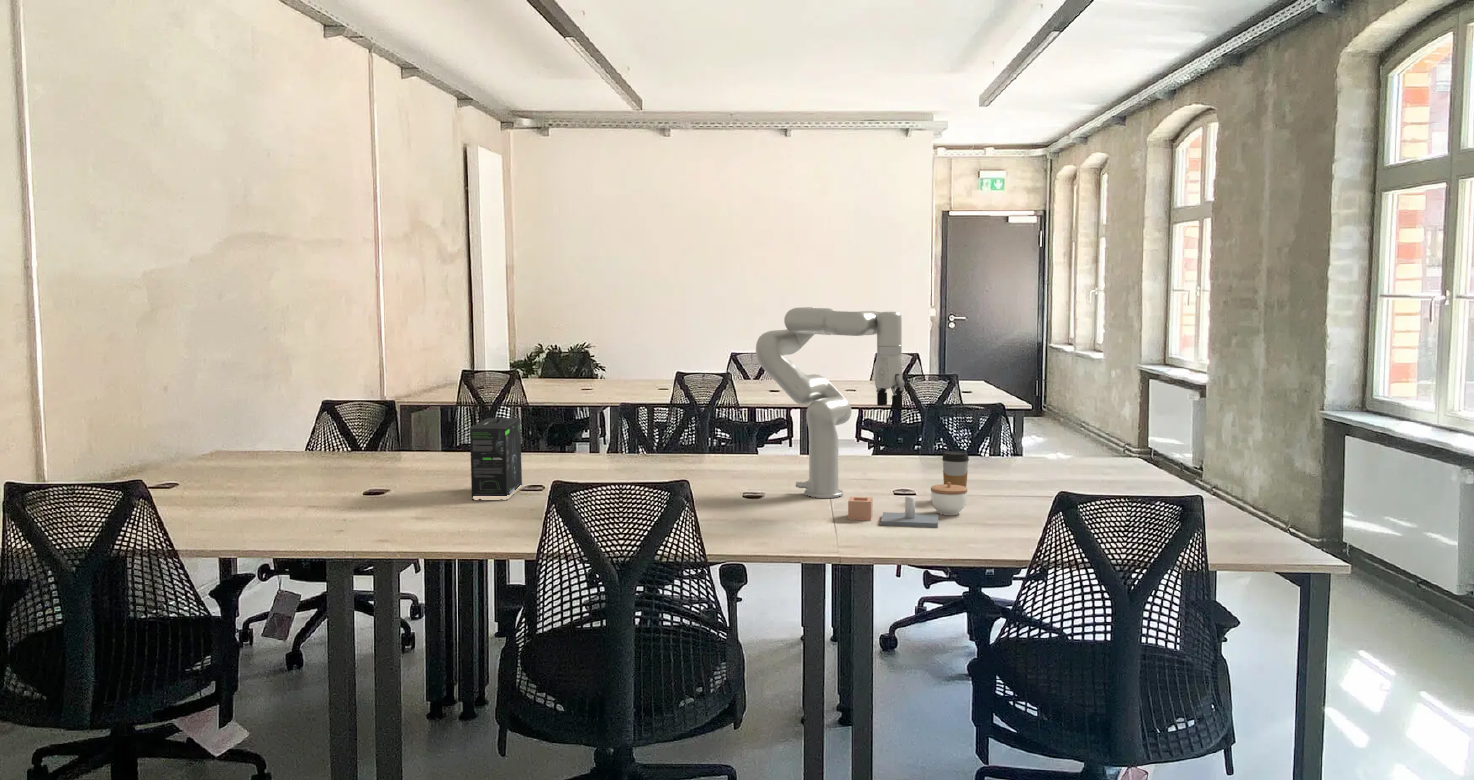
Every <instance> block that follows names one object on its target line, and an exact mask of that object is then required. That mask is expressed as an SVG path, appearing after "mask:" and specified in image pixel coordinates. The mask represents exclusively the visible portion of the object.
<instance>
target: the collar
mask: <svg viewBox="0 0 1474 780" xmlns="http://www.w3.org/2000/svg"><path fill="white" fill-rule="evenodd" d="M873 498H874V497H873V496H871V497H870V496H850V497H849V499H848V502H847V505H848V506H847V517H848V518H847V519H857V520H856V521H872V519H871V518H873V505H874V504H873V501H874V500H873Z"/></svg>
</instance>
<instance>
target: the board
mask: <svg viewBox="0 0 1474 780" xmlns="http://www.w3.org/2000/svg"><path fill="white" fill-rule="evenodd" d="M904 501H905V502H904V503H905V504H904V512H888V511H887V512H885V511H884V512H882V515H881V518H880V519H881V520H880V526H887V527H888V526H889V527H890V526H891V527H892V526H894V527H912V528H913V527H917V528H919V527H921V528H938V527H939V513H937V514H936V513H916V496H912V495H909V496H907V495H906V496H905V498H904Z"/></svg>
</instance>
